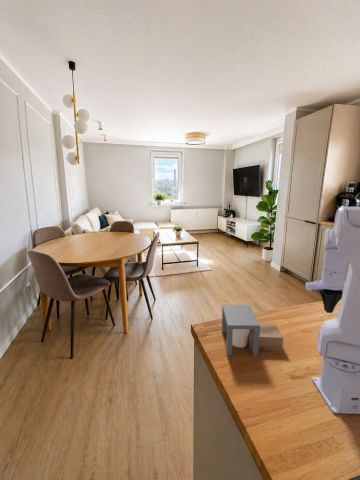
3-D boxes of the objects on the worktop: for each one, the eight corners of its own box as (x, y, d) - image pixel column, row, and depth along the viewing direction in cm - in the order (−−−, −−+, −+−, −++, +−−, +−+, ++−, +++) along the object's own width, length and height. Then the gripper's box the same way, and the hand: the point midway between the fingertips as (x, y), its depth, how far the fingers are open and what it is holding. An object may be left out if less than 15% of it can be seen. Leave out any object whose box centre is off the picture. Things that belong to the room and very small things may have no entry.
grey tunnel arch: (258, 355, 68) (260, 325, 66) (227, 355, 68) (228, 325, 66) (248, 331, 79) (249, 304, 77) (221, 330, 80) (222, 304, 78)
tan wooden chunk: (281, 350, 70) (283, 337, 69) (249, 349, 71) (250, 336, 70) (274, 336, 77) (275, 324, 76) (245, 335, 77) (245, 323, 76)
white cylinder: (248, 336, 77) (249, 316, 75) (250, 350, 70) (251, 329, 69) (227, 333, 78) (227, 315, 77) (227, 347, 71) (228, 327, 70)
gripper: (349, 265, 73) (343, 305, 76) (302, 265, 73) (298, 304, 76) (366, 273, 66) (359, 316, 69) (314, 273, 67) (308, 316, 70)
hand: (328, 311), depth 72 cm, fingers closed
